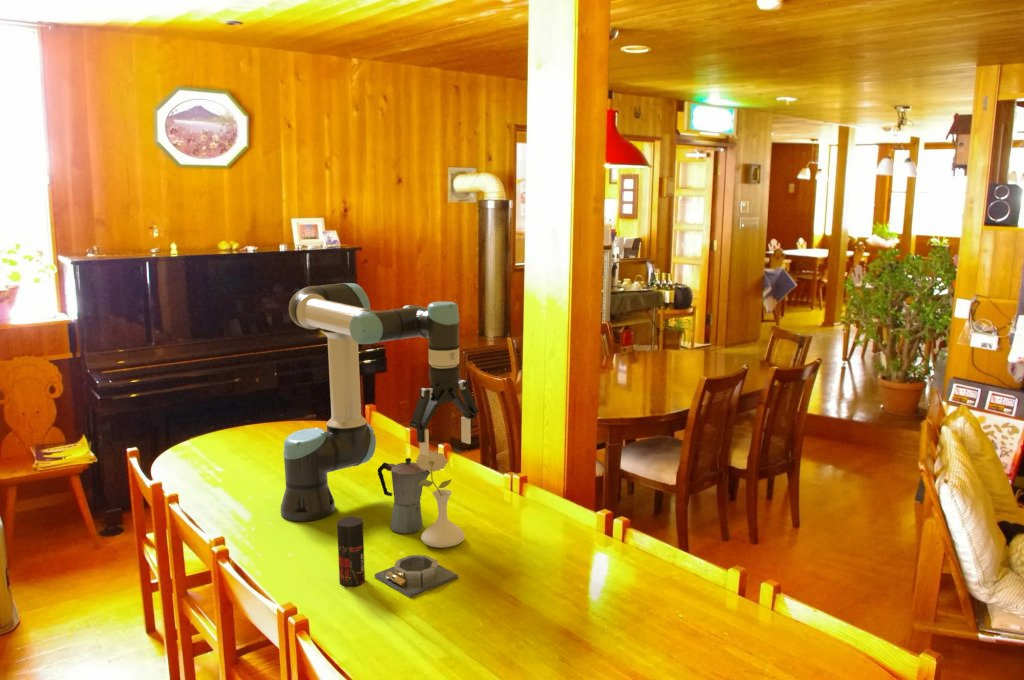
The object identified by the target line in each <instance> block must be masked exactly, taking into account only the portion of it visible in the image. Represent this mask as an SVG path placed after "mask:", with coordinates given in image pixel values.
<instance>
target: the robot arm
mask: <svg viewBox="0 0 1024 680" xmlns="http://www.w3.org/2000/svg"><path fill="white" fill-rule="evenodd" d="M459 313H460V312H459V306H458V304H457V303H456V302H453V301H444V300H443V301H432V302H430V303H428V305H427V307H425V306H421V305H417V304H414V305H408V304H407V305H404V306H403V307H401V308H394V309H388V310H373V309H371V304H370V300H369V297H368V295H367V293H366V292H365V290H364V289H363V288H362V286H360V285H359V284H357V283H351V282H350V283H349V282H347V283H346V282H342V283H341V282H340V283H334V284H324V285H323V284H322V285H321V284H320V285H310V286H306V287H303V288H302V289H299V290H298V291H296V293H294V295H292V297H291V299H290V301H289V304H288V314H289V317H290V320H292V322H293V323H294V324H296V325H297V326H299V327H301V328H304V329H308V330H316V329H321V332H322V333H323V334H324V336H326V338H327V353H328V371H329V372H328V375H329V392H330V393H329V395H330V396H329V397H330V408H331V409H330V413H331V415H330V419H329V420H328V421H327V422H326V431H325V430H324V429H323V428H319V427H312V428H304V429H300V430H297V431H294V432H293V433H291V434H289V435H287V437H286V438H285V440H284V443H283V453H282V454H283V459H284V461H283V462H284V475H285V479H284V480H285V488H284V490H285V491H284V493H283V497H282V501H281V504H280V515H281V517H282V518H283V519H285V520H288V521H293V522H310V521H317V520H320V519H324V518H326V517H329V516H331V515H332V514H333V513H334V512H335V511H336V504H335V503H336V502H335V499H334V496H333V494H332V492H331V489H330V485H329V484H328V483H329V482H328V473H331V472H335V471H339V470H343V469H347V468H351V467H358V466H360V465H361V464H362V465H363V464H365V463H368V462H369V461H370V460H371V459H372V458H373V457H374V454H375V451H376V446H377V439H376V434H375V433H374V429H373V427H372V426H371V425H370V424H369V423H368V420H367V419H366V418H365V417H363V415H362V403H361V401H362V400H361V380H360V358H359V353H360V352H359V345H374V344H376V343H384V342H389V341H390V342H391V341H396V340H406V339H410V338H411V339H412V338H423V339H428V341H427V342H428V364H429V367H428V377H429V378H428V381H430V382H429V383H430V387H427V388H425V387H420V388H419V397H418V399H417V400H418V401H417V403H416V405H415V408H414V411H413V414H412V417H411V420H410V422H409V427H410V428H413V429H415V430H416V436H417V438H416V439H417V443H419V455H420V454H422V455H425V456H428V455H429V451H430V442H429V441H430V440H429V437H430V436H429V435H430V434H429V429H428V428H427V426H428V425H429V423H430V421H431V420H432V418H433V416H434V414H435V413H436V411H437V409H438V408H439V407H441V405H443V404H446V403H451V402H452V403H453V404H454V405H455V406H456V408H457V409H458V410H459V411H460V413H461V414H462V415H463V416H461V417H460V421H461V423H460V426H461V427H460V428H461V429H460V431H461V433H460V434H461V435H460V438H461V443H464V444H466V445H471V444H472V443H471V441H472V439H471V438H472V437H471V436H472V435H471V434H472V433H471V430H472V429H473V419H475V418H476V415H478V414H479V409H478V407H477V404H476V402H475V400H474V398H473V395H472V392H471V390H470V385H469V384H470V383H469V381H468V380H465V379H461V375H460V373H461V371H460V369H461V367H460V366H459V364H460V320H461V319H460V314H459ZM458 391H459V392H460V394H459V393H458ZM460 395H461V396H460ZM462 398H463V399H462Z"/></svg>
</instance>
